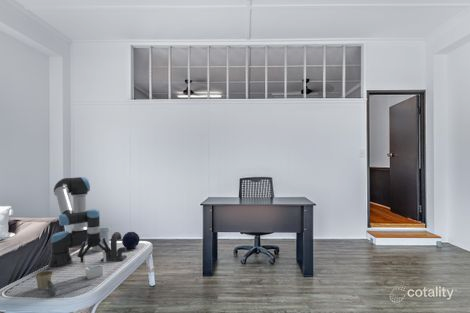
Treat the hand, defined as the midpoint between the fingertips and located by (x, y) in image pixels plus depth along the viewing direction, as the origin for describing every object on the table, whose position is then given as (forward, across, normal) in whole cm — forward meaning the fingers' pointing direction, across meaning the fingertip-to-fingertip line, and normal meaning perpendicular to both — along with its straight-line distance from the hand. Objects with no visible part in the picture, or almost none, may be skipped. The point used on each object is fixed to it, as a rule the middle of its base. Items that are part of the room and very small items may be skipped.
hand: (94, 264), depth 196 cm
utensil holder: (+7, +25, +60) cm, 65 cm away
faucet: (+8, +25, +27) cm, 37 cm away
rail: (+8, -16, -6) cm, 19 cm away
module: (+8, 0, +1) cm, 8 cm away
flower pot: (+8, -28, +5) cm, 29 cm away
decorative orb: (+7, +44, +42) cm, 61 cm away
